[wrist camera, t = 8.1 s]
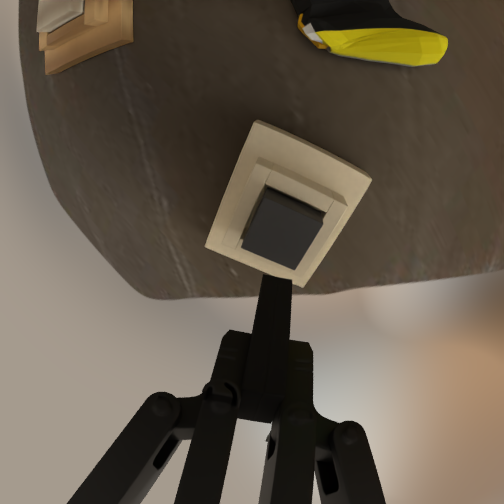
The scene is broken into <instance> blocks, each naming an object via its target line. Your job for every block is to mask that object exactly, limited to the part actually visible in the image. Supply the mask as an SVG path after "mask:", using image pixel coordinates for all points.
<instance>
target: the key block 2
mask: <svg viewBox="0 0 504 504" xmlns="http://www.w3.org/2000/svg"><path fill="white" fill-rule="evenodd" d="M371 181H372V179H371V177H370V176H369V175H368V174H367V172H365V171H363V170H361V169H360V168H358V167H356V166H354V165H353V164H351V163H349V162H347V161H345V160H343V159H342V158H340V157H338V156H336V155H334V154H332V153H330V152H328V151H326V150H324V149H322V148H320V147H318V146H316V145H314V144H312V143H310V142H308V141H306V140H304V139H302V138H300V137H297V136H295V135H293V134H291V133H289V132H286V131H284V130H282V129H280V128H277V127H275V126H273V125H270V124H268V123H266V122H263V121H261V120H258V119H257V120H256V121H255V122H254V123H253V125H252V128H251V130H250V132H249V135H248V137H247V139H246V142H245V144H244V147H243V149H242V151H241V154H240V156H239V159H238V161H237V164H236V166H235V168H234V171H233V173H232V176H231V178H230V181H229V183H228V186H227V189H226V191H225V194H224V196H223V199H222V201H221V204H220V207H219V209H218V212H217V214H216V217H215V220H214V222H213V225H212V228H211V231H210V233H209V236H208V239H207V241H206V244H205V247H206V248H208V249H211V250H213V251H215V252H218V253H220V254H222V255H225V256H227V257H230V258H232V259H234V260H237V261H239V262H242V263H244V264H246V265H249V266H251V267H254V268H256V269H259V270H261V271H263V272H266V273H268V274H271V275H273V276H275V277H281V278H286V279H292V283H293V284H295V285H298V286H300V287H302V288H303V287H304V286H305V284H306V283H307V281H308V280H309V279H310V277H311V276H312V274H313V273H314V271H315V270H316V268H317V267H318V265H319V264H320V262H321V261H322V259H323V258H324V256H325V255H326V253H327V252H328V250H329V249H330V247H331V246H332V244H333V243H334V241H335V240H336V238H337V236H338V235H339V233H340V232H341V230H342V229H343V227H344V226H345V224H346V222H347V221H348V219H349V218H350V216H351V214H352V213H353V211H354V210H355V208H356V206H357V205H358V203H359V201H360V200H361V198H362V196H363V195H364V193H365V191H366V190H367V188H368V186H369V185H370V183H371ZM267 187H268V188H271V189H273V190H275V191H277V192H280V193H282V194H284V195H286V196H288V197H291V198H293V199H295V200H297V201H299V202H301V203H303V204H306V205H308V206H310V207H312V208H314V209H316V210H318V211H320V212H321V214H322V219H323V226H322V228H321V229H320V231H319V232H318V234H317V236H316V237H315V239H314V241H313V242H312V244H311V246H310V247H309V249H308V250H307V252H306V254H305V255H304V257H303V258H302V260H301V262H300V263H299V265H298V266H297V268H296V269H295V271H294V270H292V269H289V268H287V267H285V266H282V265H280V264H278V263H275V262H273V261H270V260H268V259H266V258H263V257H261V256H259V255H256V254H254V253H251V252H249V251H247V250H244V249H242V248H241V245H242V242H243V239H244V236H245V234H246V231H247V229H248V227H249V225H250V223H251V221H252V218H253V216H254V214H255V212H256V210H257V208H258V205H259V203H260V201H261V199H262V197H263V195H264V193H265V190H266V188H267Z"/></svg>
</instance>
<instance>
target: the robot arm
mask: <svg viewBox="0 0 504 504" xmlns="http://www.w3.org/2000/svg"><path fill="white" fill-rule="evenodd" d="M291 300H292V279H286V278H281V277H275V276H270V275H264V274H263V277H262V283H261V288H260V293H259V298H258V304H257V309H256V314H255V319H254V325H253V330H252V334H250V333H244V332H239V331H234V330H229V331H228V332H227V333H226V334H225V335H224V336H223V338H222V341H221V345H220V349H219V352H218V355H217V359H216V362H215V366H214V369H213V373H212V377H211V380H210V382H209V383H207V384H206V385H205V386H204V388H203V390H202V394H200V395H198V396H195V397H186V398H176V397H175V396H173V395H172V394H170V393H167V392H157V393H154V394H152V395H150V396H149V397H148V398H147V399H146V401H145V402H144V403H143V405H142V406H141V407H140V409H139V410H138V411H137V412H136V414H135V415H134V416H133V418H132V419H131V420H130V422H129V423H128V424H127V426H126V427H125V428H124V430H123V431H122V432H121V434H120V435H119V436H118V437H117V439H116V440H115V441H114V443H113V444H112V445H111V447H110V448H109V449H108V451H107V452H106V453H105V455H104V456H103V457H102V458H101V460H100V461H99V462H98V464H97V465H96V466H95V468H94V469H93V470H92V472H91V473H90V474H89V475H88V477H87V478H86V479H85V481H84V482H83V483H82V484H81V486H80V487H79V488H78V490H77V491H76V492H75V494H74V495H73V496H72V498H71V499H70V500H69V501H68V503H67V504H140V503H141V502H142V500H143V499H144V497H145V496H146V495H147V493H148V492H149V490H150V489H151V487H152V486H153V484H154V483H155V481H156V480H157V478H158V477H159V475H160V474H161V472H162V471H163V469H164V468H165V466H166V465H167V463H168V461H169V460H170V459H171V457H172V455H173V454H174V452H175V451H176V449H177V448H178V446H179V445H180V443H181V442H182V440H189V439H192V440H191V444H190V447H189V451H188V454H187V458H186V462H185V465H184V469H183V473H182V476H181V480H180V484H179V487H178V491H177V494H176V498H175V502H174V504H219V503H220V499H221V494H222V489H223V485H224V480H225V475H226V470H227V465H228V461H229V456H230V450H231V446H232V441H233V436H234V431H235V425H236V421H237V418H239V419H245V420H250V421H257V422H263V423H271V422H272V428H271V431H270V433H269V435H268V436H267V439H266V441H267V442H268V445H267V452H266V459H265V466H264V473H263V479H262V485H261V491H260V497H259V504H312V494H313V481H314V471H315V475H316V479H317V485H318V490H319V495H320V500H321V504H386V503H385V498H384V495H383V491H382V487H381V484H380V480H379V477H378V473H377V469H376V466H375V463H374V459H373V456H372V452H371V449H370V446H369V443H368V439H367V436H366V433H365V431H364V429H363V427H362V426H361V425H360V424H358V423H357V422H354V421H344V422H342V423H337V422H335V421H332V420H329V419H327V418H325V417H323V416H321V415H320V414H319V413H318V412H317V411H316V409H315V407H314V405H313V351H312V349H311V347H310V345H309V343H308V342H301V341H295V340H289V337H290V320H291Z"/></svg>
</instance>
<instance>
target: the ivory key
mask: <svg viewBox="0 0 504 504" xmlns="http://www.w3.org/2000/svg"><path fill="white" fill-rule="evenodd" d="M84 13H85V0H39V6H38V17H37V32H53V31H54V30H56V29H57V28H59V27H61V26H62V25H64V24H66V23H68V22H69V21H71V20H73V19H75V18H76V17H78V16H80V15H82V14H84Z"/></svg>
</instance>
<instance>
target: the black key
mask: <svg viewBox="0 0 504 504" xmlns="http://www.w3.org/2000/svg"><path fill="white" fill-rule="evenodd" d="M322 226H323V219H322V214H321V212H320V211H318V210H316V209H314V208H312V207H310V206H308V205H306V204H303V203H301V202H299V201H297V200H295V199H293V198H291V197H288V196H286V195H284V194H282V193H280V192H277V191H275V190H273V189H271V188H268V187H267V188H266V190H265V193H264V195H263V197H262V199H261V201H260V203H259V205H258V208H257V210H256V212H255V214H254V216H253V218H252V221H251V223H250V225H249V227H248V229H247V231H246V234H245V236H244V239H243V242H242V245H241V248H242V249H244V250H247V251H249V252H251V253H254V254H256V255H259V256H261V257H263V258H266V259H268V260H270V261H273V262H275V263H278V264H280V265H282V266H285V267H287V268H289V269H292V270H294V271H295V269H296V268H297V266H298V265H299V263H300V262H301V260H302V258H303V257H304V255H305V254H306V252H307V250H308V249H309V247H310V246H311V244H312V242H313V241H314V239H315V237H316V236H317V234H318V232H319V231H320V229H321V228H322Z"/></svg>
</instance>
